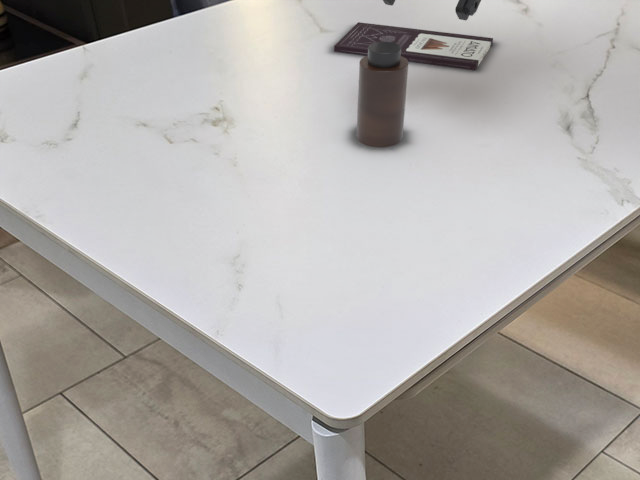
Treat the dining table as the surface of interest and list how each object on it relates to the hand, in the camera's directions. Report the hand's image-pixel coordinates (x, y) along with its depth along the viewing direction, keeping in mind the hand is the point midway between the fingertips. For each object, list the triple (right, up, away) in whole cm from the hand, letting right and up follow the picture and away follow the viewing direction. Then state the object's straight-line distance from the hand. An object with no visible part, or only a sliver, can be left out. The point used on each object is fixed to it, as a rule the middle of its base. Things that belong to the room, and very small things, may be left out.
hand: (422, 8), depth 87 cm
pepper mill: (-4, -13, +2) cm, 14 cm away
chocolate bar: (+3, +2, +21) cm, 22 cm away
